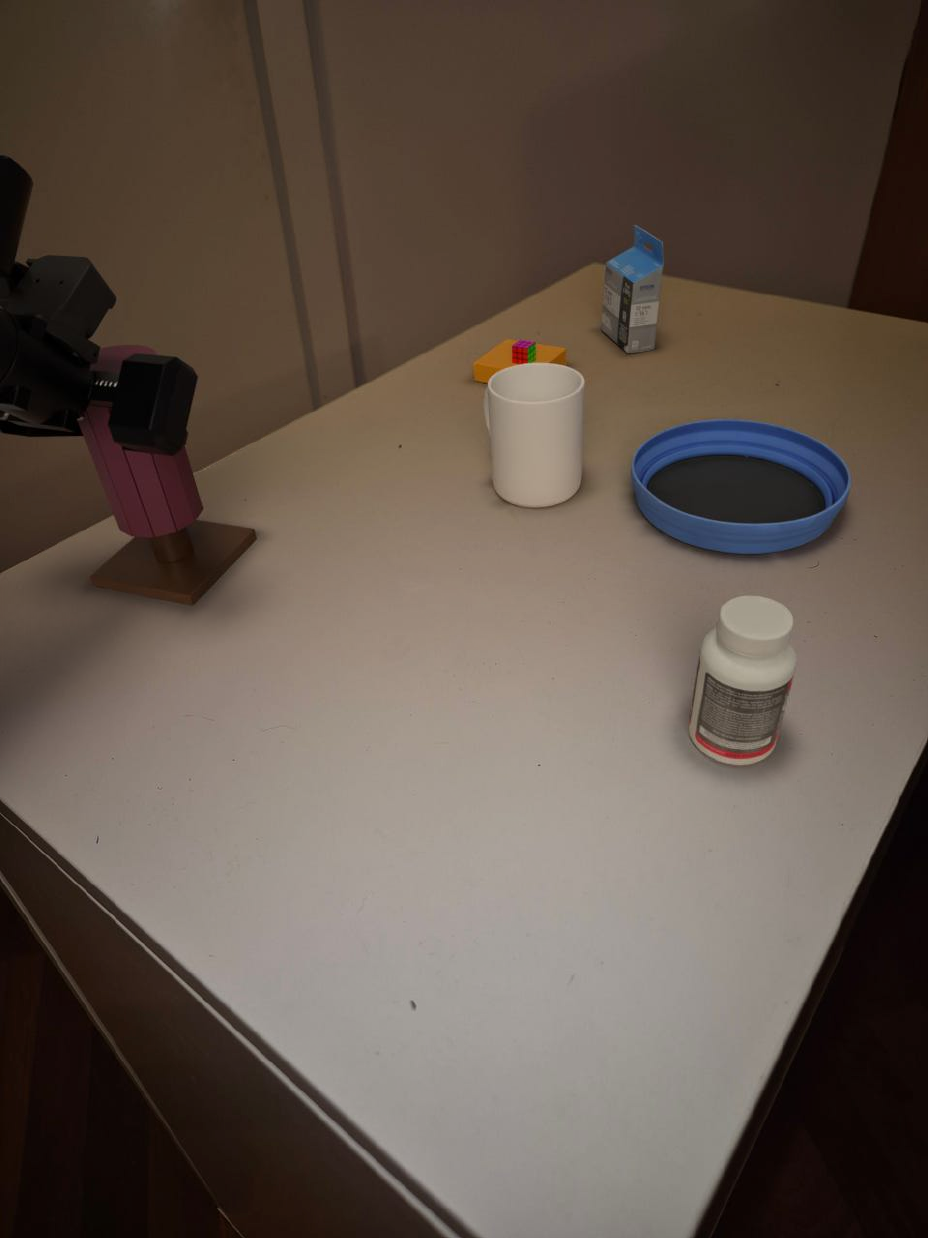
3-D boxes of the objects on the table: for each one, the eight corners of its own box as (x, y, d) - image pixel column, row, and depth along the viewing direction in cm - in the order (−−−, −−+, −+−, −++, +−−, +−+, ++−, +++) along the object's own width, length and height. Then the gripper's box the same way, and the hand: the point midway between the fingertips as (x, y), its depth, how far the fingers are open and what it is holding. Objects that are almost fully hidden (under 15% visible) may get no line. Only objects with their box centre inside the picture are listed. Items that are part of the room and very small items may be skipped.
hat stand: (192, 605, 67) (171, 542, 63) (92, 586, 70) (66, 524, 66) (257, 538, 74) (241, 477, 70) (164, 522, 77) (143, 464, 73)
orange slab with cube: (473, 381, 97) (471, 345, 94) (507, 356, 102) (506, 321, 99) (534, 392, 93) (534, 355, 91) (566, 366, 99) (567, 330, 96)
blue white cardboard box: (599, 330, 107) (604, 227, 99) (629, 325, 107) (636, 223, 100) (626, 355, 100) (633, 247, 92) (657, 350, 101) (667, 242, 93)
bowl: (587, 499, 75) (588, 464, 73) (718, 434, 83) (722, 401, 81) (751, 589, 64) (758, 551, 62) (885, 504, 72) (896, 467, 69)
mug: (454, 468, 81) (446, 366, 75) (523, 442, 85) (521, 342, 78) (526, 520, 73) (524, 411, 67) (600, 490, 76) (604, 383, 70)
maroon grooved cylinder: (208, 523, 67) (161, 368, 59) (122, 545, 65) (61, 389, 57) (196, 485, 72) (151, 338, 64) (115, 505, 70) (58, 356, 62)
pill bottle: (792, 757, 51) (826, 636, 45) (710, 776, 50) (734, 656, 44) (749, 697, 55) (775, 579, 49) (673, 714, 54) (690, 596, 48)
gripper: (135, 229, 48) (271, 344, 63) (-100, 220, 54) (76, 328, 69) (91, 413, 48) (239, 486, 63) (-141, 385, 53) (45, 458, 68)
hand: (146, 433), depth 66 cm, fingers closed on maroon grooved cylinder, 7 cm apart
